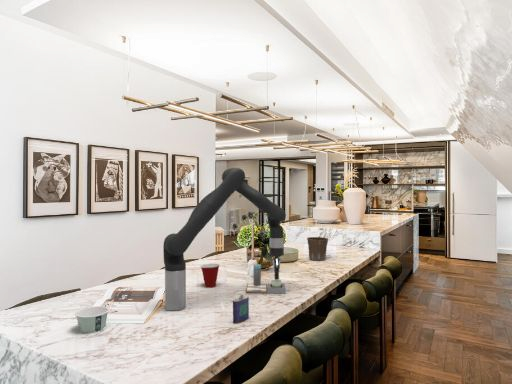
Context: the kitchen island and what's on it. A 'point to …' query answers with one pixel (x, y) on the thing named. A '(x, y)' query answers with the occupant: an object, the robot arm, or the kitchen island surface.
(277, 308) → the kitchen island surface
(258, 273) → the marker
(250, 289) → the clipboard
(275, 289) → the button housing
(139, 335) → the kitchen island surface
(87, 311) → the food container
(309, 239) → the plant pot
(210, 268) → the plastic cup
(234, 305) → the flask
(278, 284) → the button
